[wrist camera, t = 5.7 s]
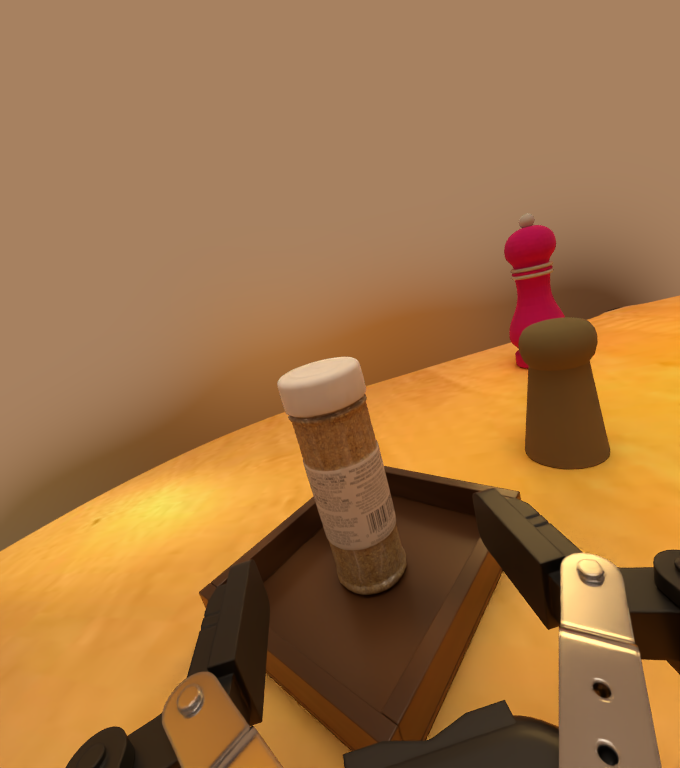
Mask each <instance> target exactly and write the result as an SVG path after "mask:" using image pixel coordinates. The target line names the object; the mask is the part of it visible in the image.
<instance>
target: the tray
mask: <svg viewBox="0 0 680 768" xmlns="http://www.w3.org/2000/svg"><path fill="white" fill-rule="evenodd" d="M384 470H385V474H386V478H387V482H388V486H389V490H390V494H391V498H392V502H393V507H394V511H395V515H396V525H397V529H398V533H399V537H400V541H401V546H402V547H403V549H404V551H405V553H406V562H407V565H406V569H405V571H404V574H403V575H402V577H401V578H400V579H399V581H398V582H397V583H396V584H395V585H394V586H392V587H391V588H390V589H387V590H385V591H382V592H380V593H376V594H371V595H361V594H357V593H354V592H352V591H350V590H348V589H347V588H346V587H345V586H343V585H342V584H341V583H340V580H339V577H338V574H337V568H336V563H335V559H334V556H333V553H332V549H331V546H330V543H329V540H328V539H327V536H326V534H325V531H324V527H323V524H322V521H321V518H320V515H319V512H318V509H317V505H316V502H315V499H314V497H312V498H311V499H310V500H309V501H308V502H306V503H305V504H304V505H303V506H302V507H300V508H299V509H298V510H297V511H296V512H294V513H293V514H292V515H291V516H290V517H288V518H287V519H286V520H285V521H284V522H282V523H281V524H280V525H279V526H278V527H277V528H275V529H274V530H273V531H272V532H271V533H269V534H268V535H267V536H266V537H265V538H263V539H262V540H261V541H260V542H259V543H257V544H256V545H255V546H254V547H253V548H251V549H250V550H249V551H248V552H247V553H245V554H244V555H243V556H242V557H241V558H239V559H238V560H237V561H236V562H235V563H233V564H232V565H235V564H238V563H241V562H245V561H248V560H251V559H253V560H254V561H255V563H256V565H257V568H258V571H259V573H260V576H261V578H262V581H263V584H264V586H265V589H266V592H267V595H268V599H269V605H270V620H269V634H268V648H267V661H266V673H267V674H268V675H269V676H270V677H271V678H273V679H274V680H275V681H276V682H277V683H278V684H279V685H280V686H281V687H282V688H284V689H285V690H286V691H287V692H288V693H289V694H290V695H291V696H292V697H293V698H294V699H296V700H297V701H298V702H299V703H300V704H301V705H302V706H303V707H304V708H305V709H307V710H308V711H309V712H310V713H311V714H312V715H313V716H314V717H315V718H316V719H318V720H319V721H320V722H321V723H322V724H323V725H324V726H325V727H326V728H327V729H329V730H330V731H331V732H332V733H333V734H334V735H335V736H336V737H337V738H338V739H340V740H341V741H342V742H343V743H344V744H345V745H346V746H347V747H348V748H349V749H351V750H352V751H355V750H358V749H361V748H364V747H367V746H369V745H372V744H375V743H378V742H381V741H425V740H426V737H427V735H428V733H429V731H430V729H431V727H432V724H433V722H434V720H435V718H436V716H437V713H438V711H439V709H440V707H441V705H442V702H443V700H444V698H445V696H446V694H447V691H448V689H449V687H450V685H451V683H452V681H453V678H454V676H455V674H456V672H457V670H458V667H459V665H460V663H461V661H462V659H463V656H464V654H465V652H466V650H467V648H468V645H469V643H470V641H471V639H472V637H473V635H474V632H475V630H476V628H477V626H478V624H479V621H480V619H481V617H482V615H483V613H484V610H485V608H486V606H487V604H488V602H489V599H490V597H491V595H492V593H493V591H494V589H495V586H496V584H497V582H498V580H499V578H500V575H501V573H502V571H503V570H502V568H501V567H500V566H499V564H498V563H497V562H496V560H495V559H494V558H493V556H492V555H491V554H490V552H489V551H488V550H487V548H486V547H485V545H484V544H483V542H482V540H481V537H480V535H479V532H478V527H477V522H476V516H475V510H474V504H473V497H472V496H473V493H476V492H479V491H483V490H486V489H489V488H495V489H497V490H498V491H499V492H500V493H501V494H502V495H503V496H504V497H505V498H506V499H509V498H512V497H515V498H517V499H519V500H521V498H520V492H519V491H514V490H508V489H503V488H498V487H492V486H487V485H482V484H477V483H471V482H466V481H461V480H456V479H450V478H445V477H440V476H435V475H429V474H424V473H419V472H413V471H408V470H403V469H398V468H392V467H387V466H384ZM232 565H231V566H232ZM231 566H230V567H231ZM230 567H229V568H228V569H226V570H225V571H224V572H223V573H222V574H220V575H219V576H218V577H217V578H216V579H214V580H213V581H212V582H211V583H209V584H208V585H207V586H206V587H205V588H203V589H202V590H201V591H200V592H199V594H200V596H201V599H202V601H203V603H204V605H205V608H206V607H207V603H208V600H209V599H210V597H211V596H212V594H213V593H214V591H215V590H216V588H217V587H218V586H220V585H223V584H226V582H227V578H228V574H229V569H230Z"/></svg>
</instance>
